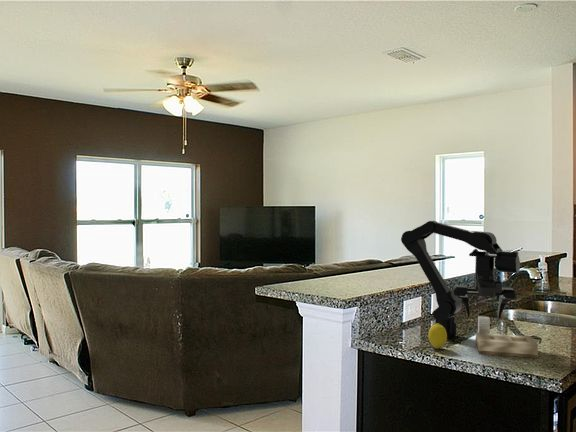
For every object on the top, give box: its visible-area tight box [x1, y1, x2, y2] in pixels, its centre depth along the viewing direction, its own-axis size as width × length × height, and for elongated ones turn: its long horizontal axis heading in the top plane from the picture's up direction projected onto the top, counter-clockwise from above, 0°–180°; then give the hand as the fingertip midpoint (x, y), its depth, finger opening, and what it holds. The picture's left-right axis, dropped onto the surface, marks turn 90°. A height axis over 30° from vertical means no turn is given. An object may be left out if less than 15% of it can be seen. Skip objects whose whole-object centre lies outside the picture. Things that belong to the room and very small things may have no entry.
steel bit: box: [477, 315, 491, 334], centre depth 164 cm, size 3×3×8 cm
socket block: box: [475, 332, 539, 359], centre depth 153 cm, size 16×10×4 cm, turn 76°
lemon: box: [427, 323, 448, 350], centre depth 155 cm, size 6×6×8 cm
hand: (483, 318), depth 164 cm, fingers open, 9 cm apart
